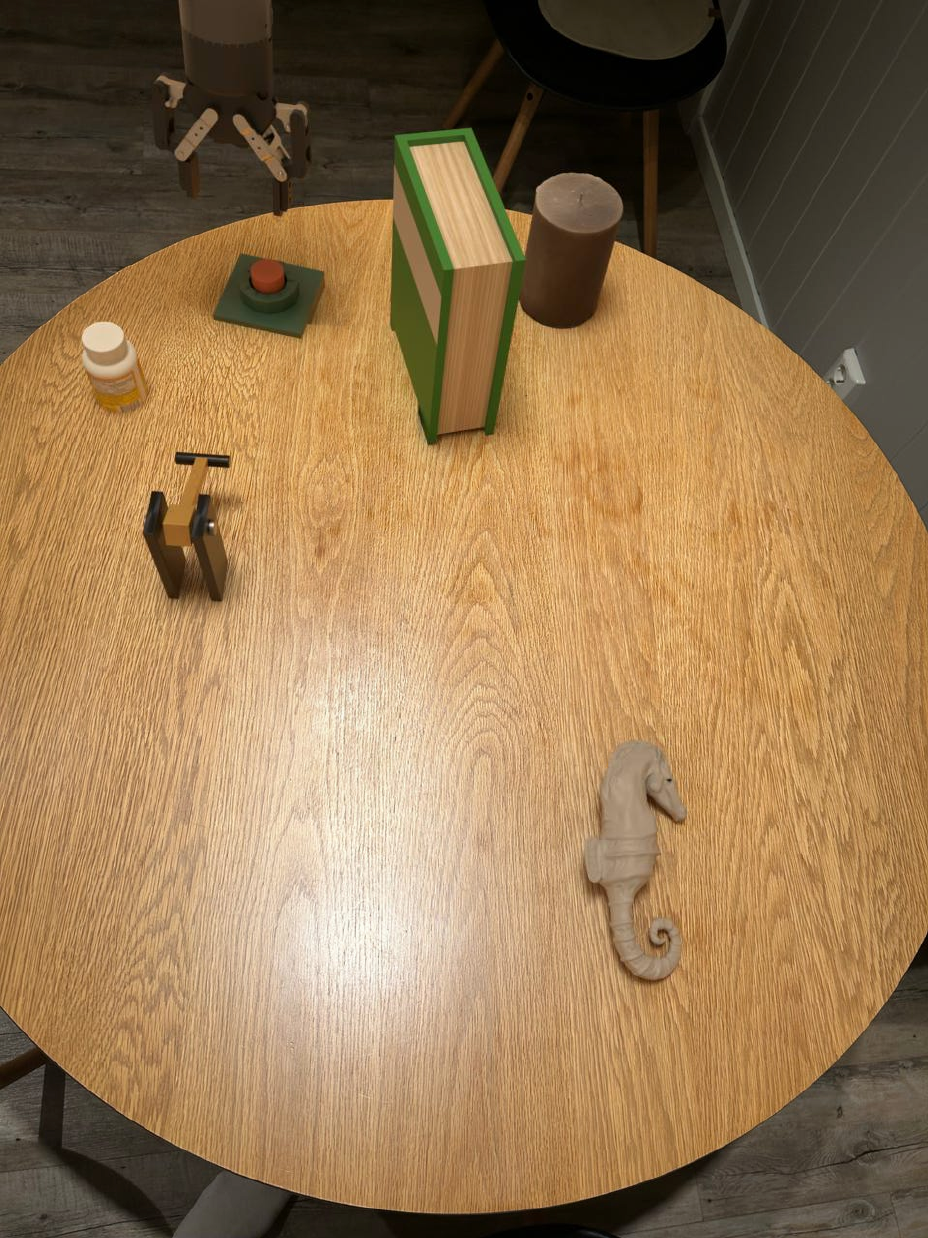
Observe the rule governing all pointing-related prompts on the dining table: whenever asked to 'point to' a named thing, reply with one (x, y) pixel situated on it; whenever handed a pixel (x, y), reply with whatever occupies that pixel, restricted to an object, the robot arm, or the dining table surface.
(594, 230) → the pillar candle
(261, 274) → the button
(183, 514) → the latch
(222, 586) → the bracket
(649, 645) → the dining table surface
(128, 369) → the supplement bottle
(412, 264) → the hardback book
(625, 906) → the seahorse
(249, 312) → the button box
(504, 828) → the dining table surface
